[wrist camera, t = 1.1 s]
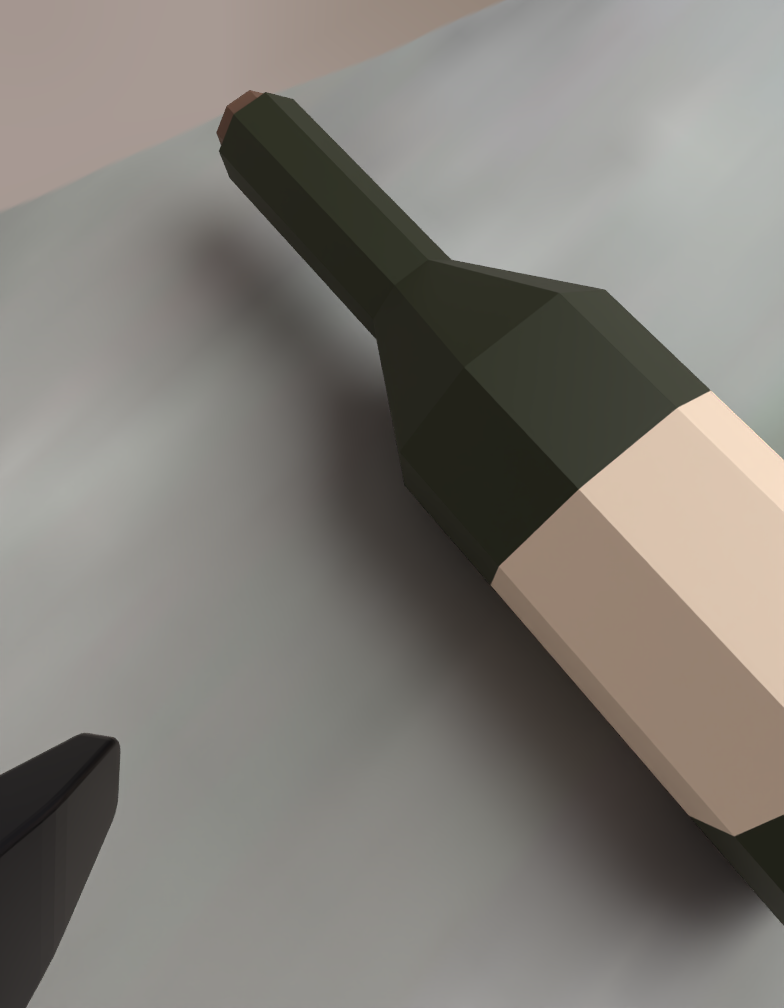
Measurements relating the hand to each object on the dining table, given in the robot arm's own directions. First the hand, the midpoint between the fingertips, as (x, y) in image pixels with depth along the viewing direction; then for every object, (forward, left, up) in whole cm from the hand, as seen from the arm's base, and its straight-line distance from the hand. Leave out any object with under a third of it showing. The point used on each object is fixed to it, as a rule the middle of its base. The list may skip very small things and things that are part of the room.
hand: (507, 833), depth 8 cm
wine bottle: (+5, -12, -10) cm, 17 cm away
